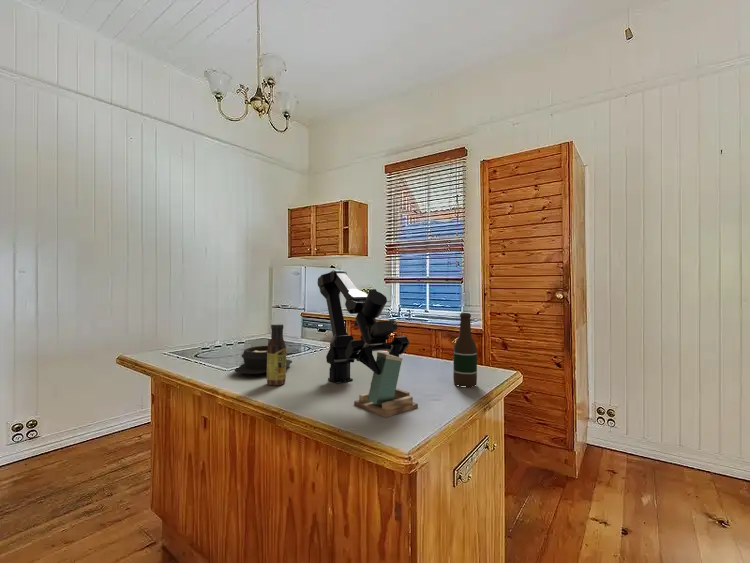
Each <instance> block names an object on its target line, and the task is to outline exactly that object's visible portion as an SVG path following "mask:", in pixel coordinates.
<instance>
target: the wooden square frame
mask: <svg viewBox="0 0 750 563" xmlns="http://www.w3.org/2000/svg"><path fill="white" fill-rule="evenodd" d="M410 393H411V392H410V391H407V390H404V389H400V388H397V387H396V390H395V395H394V400H392V401H388V402H385V403H382V405H376V404H375V403H373V402H371V401H370V400H368V396H369V392H364V393H361V394H359V395H358V396H359V397H358V399H357V400H354V401H353V404H354V406H356V407H359V408H361V409H364V410H366V411H369V412H371V413H373V414H376V415H379V416H382V417H383V418H386V419H387V418H388V417H391V416H395V415H399V414H400V413H402V414H403V413H404V412H408V411H411V410H414V409H417V408H419V403H416V402H414V400H413V399H414V398H413V396H411V395H410Z"/></svg>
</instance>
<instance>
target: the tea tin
mask: <svg viewBox="0 0 750 563" xmlns="http://www.w3.org/2000/svg"><path fill="white" fill-rule="evenodd" d="M376 352H377V353H376V358H375V361H376V363H377V366H378V368H379V371H380V373H379V375H377V374H376V373H375V372H373V374H372V377H371V378H372V379H371V381H370V382H371V383H370V388H369V390H368V393H369V396H368V400H370V401H371V402H373V403H375V404H376V405H382V403H385V402H388V401H392V400H394V395H395V390H396V388H397V385H398V380H399V377H400V376H399V375H400V371H401V367H402V362H403V360H404V359H403V358H402V357H400V356H399V357H397V356H395V355H390V354H389V353H384V352H380V351H376Z"/></svg>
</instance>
